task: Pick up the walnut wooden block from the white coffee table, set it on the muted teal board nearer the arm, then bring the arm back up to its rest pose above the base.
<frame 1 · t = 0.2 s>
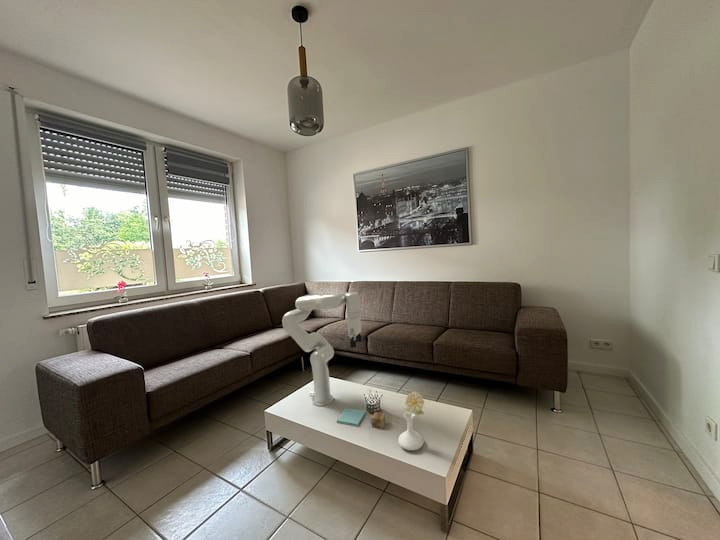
hand: (356, 344, 160), 36 cm above the table, tool pointing down, fingers open, 9 cm apart
walnut block: (379, 425, 144), on the table
flower in vase: (412, 445, 128), on the table
teal board: (351, 417, 151), on the table
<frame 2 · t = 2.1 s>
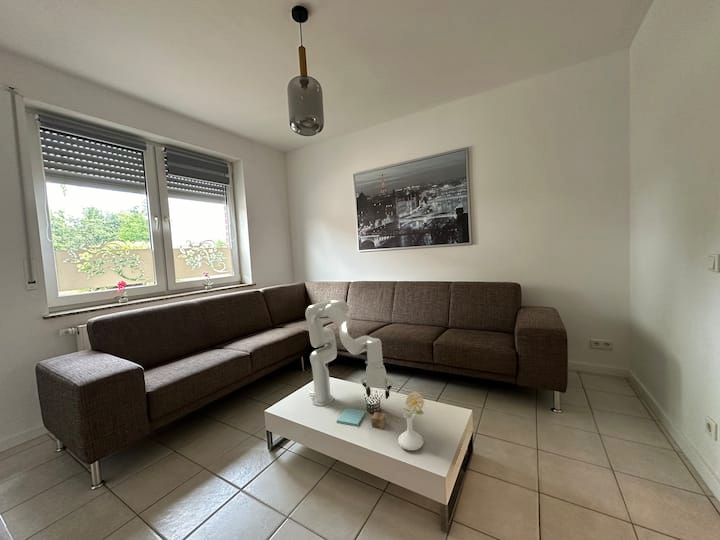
hand: (378, 396, 142), 15 cm above the table, tool pointing down, fingers open, 9 cm apart
nothing on the table moved.
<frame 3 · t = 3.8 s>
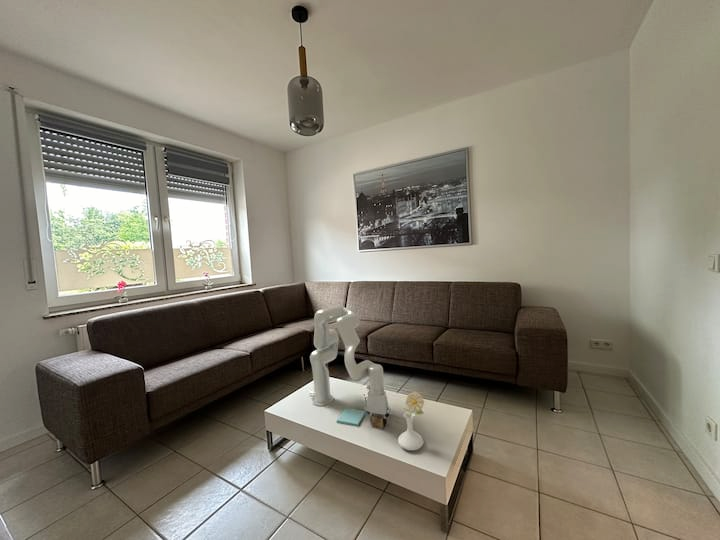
hand: (378, 423, 144), 1 cm above the table, tool pointing down, fingers closed on walnut block, 5 cm apart
walnut block: (379, 424, 144), on the table, touching gripper
everything else where it was.
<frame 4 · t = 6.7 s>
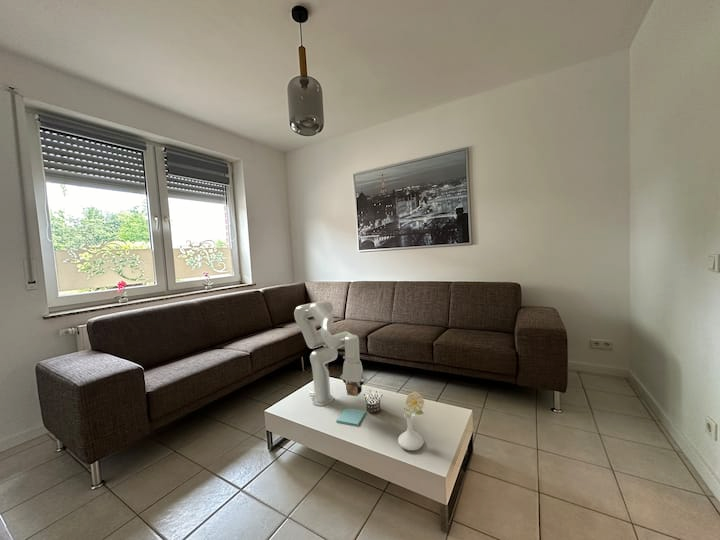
hand: (354, 391, 150), 15 cm above the table, tool pointing down, fingers closed on walnut block, 5 cm apart
walnut block: (354, 392, 150), point 14 cm above the table, touching gripper
everything else where it was.
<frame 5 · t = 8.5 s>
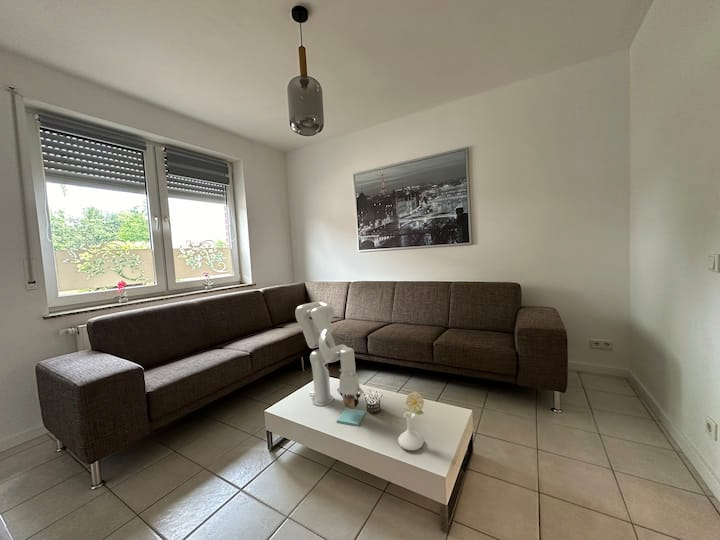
hand: (351, 404, 151), 7 cm above the table, tool pointing down, fingers closed on walnut block, 5 cm apart
walnut block: (351, 405, 151), point 7 cm above the table, touching gripper
everything else where it was.
when the fingers open (3 cm above the table, at t = 9.8 s): walnut block drops 1 cm, resting on teal board.
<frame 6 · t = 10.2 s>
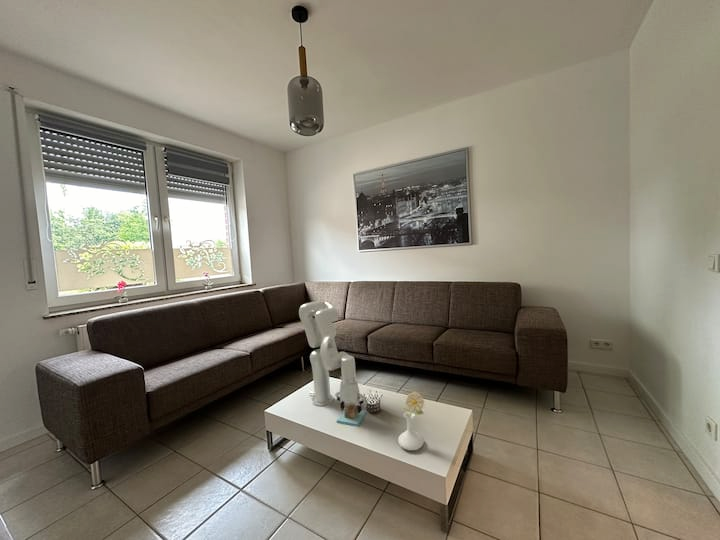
hand: (351, 410, 151), 4 cm above the table, tool pointing down, fingers open, 9 cm apart
walnut block: (351, 415, 151), point 1 cm above the table, touching teal board
everything else where it was.
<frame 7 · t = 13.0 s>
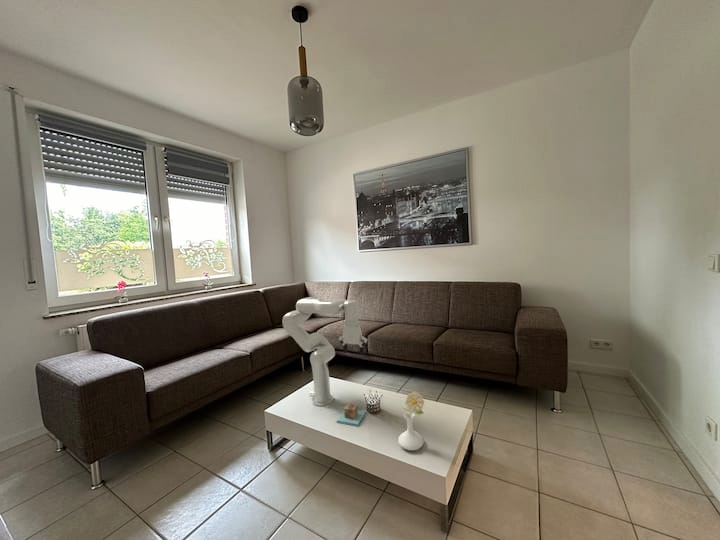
hand: (353, 352, 158), 32 cm above the table, tool pointing down, fingers open, 9 cm apart
nothing on the table moved.
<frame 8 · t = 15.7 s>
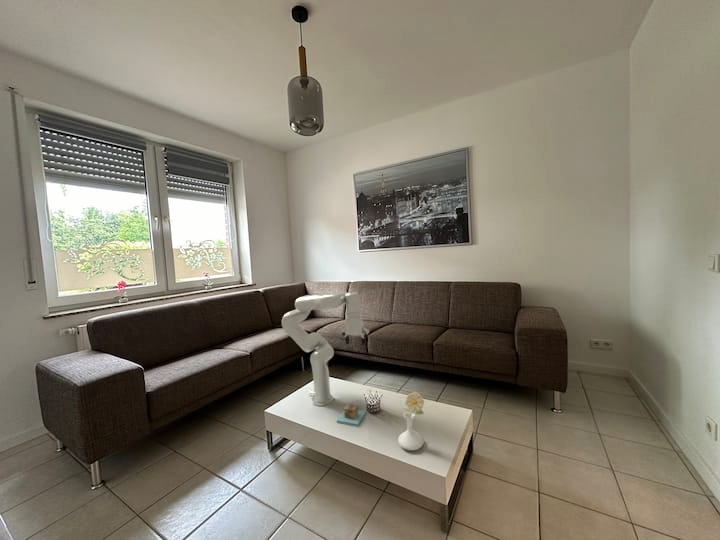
hand: (355, 344, 160), 36 cm above the table, tool pointing down, fingers open, 9 cm apart
nothing on the table moved.
at the end: walnut block inside the target area on the teal board (0.0 cm from its centre), point 1.2 cm above the teal board's base; the gripper is holding nothing; walnut block tilted 0° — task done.
